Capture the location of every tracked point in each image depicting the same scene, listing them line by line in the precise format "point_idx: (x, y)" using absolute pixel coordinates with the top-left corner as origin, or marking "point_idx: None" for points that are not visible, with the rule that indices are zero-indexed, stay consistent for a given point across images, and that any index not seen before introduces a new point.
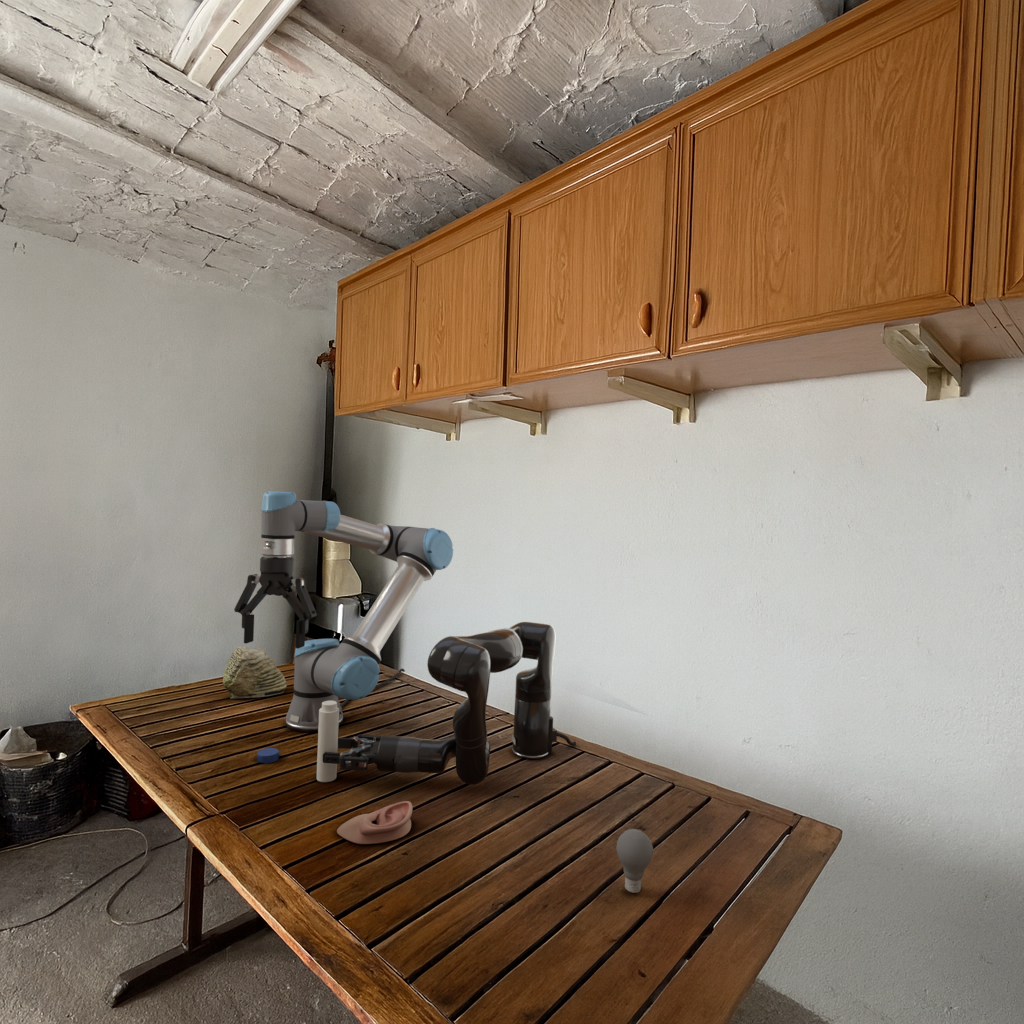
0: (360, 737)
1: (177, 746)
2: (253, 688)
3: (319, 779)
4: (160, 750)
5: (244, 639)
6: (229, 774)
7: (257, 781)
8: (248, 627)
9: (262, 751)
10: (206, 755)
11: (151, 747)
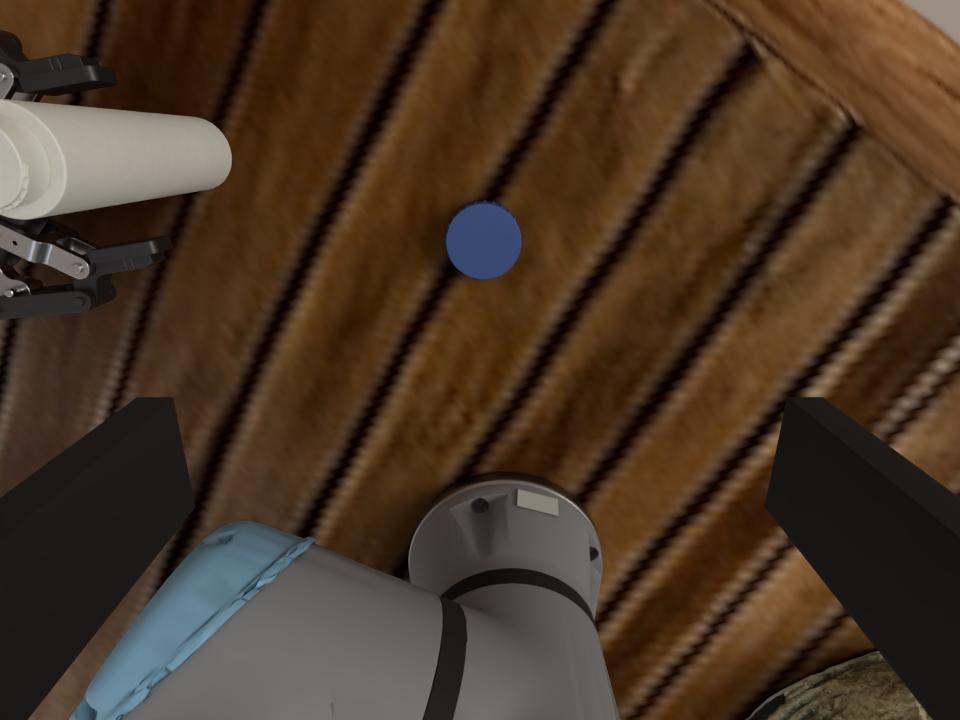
0: (75, 290)
1: (859, 240)
2: (831, 700)
3: (198, 118)
4: (903, 189)
5: (841, 418)
6: (539, 73)
7: (407, 49)
8: (903, 530)
9: (505, 238)
10: (712, 200)
11: (950, 203)
